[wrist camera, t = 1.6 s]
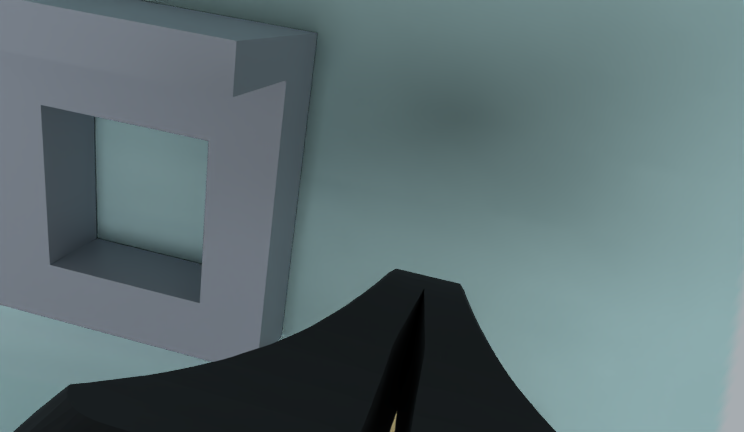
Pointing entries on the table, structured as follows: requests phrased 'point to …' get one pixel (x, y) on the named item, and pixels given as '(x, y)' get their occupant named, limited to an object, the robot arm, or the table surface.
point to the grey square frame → (165, 113)
